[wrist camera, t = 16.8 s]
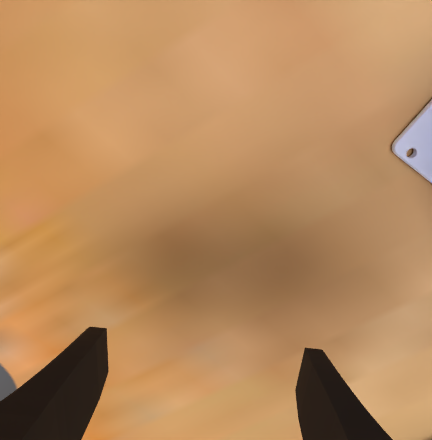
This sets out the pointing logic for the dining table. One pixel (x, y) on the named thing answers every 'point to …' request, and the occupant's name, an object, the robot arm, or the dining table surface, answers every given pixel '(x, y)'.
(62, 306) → the dining table surface
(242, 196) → the dining table surface
